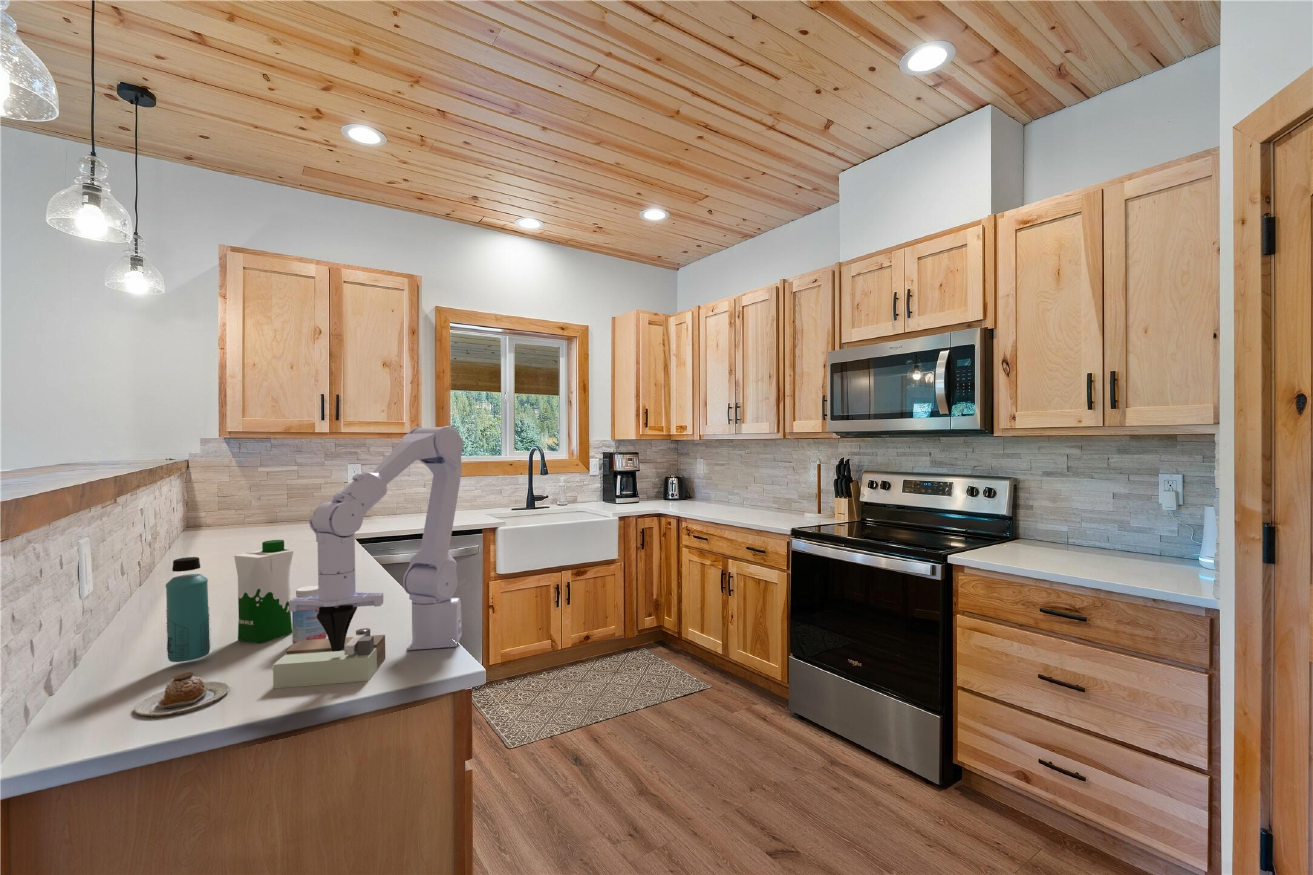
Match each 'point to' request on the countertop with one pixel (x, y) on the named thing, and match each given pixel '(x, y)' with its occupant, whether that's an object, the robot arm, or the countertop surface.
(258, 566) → the milk carton
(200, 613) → the beverage bottle
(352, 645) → the bar
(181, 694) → the pastry
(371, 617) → the countertop surface
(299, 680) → the pale green long block
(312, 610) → the pill bottle
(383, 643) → the block
